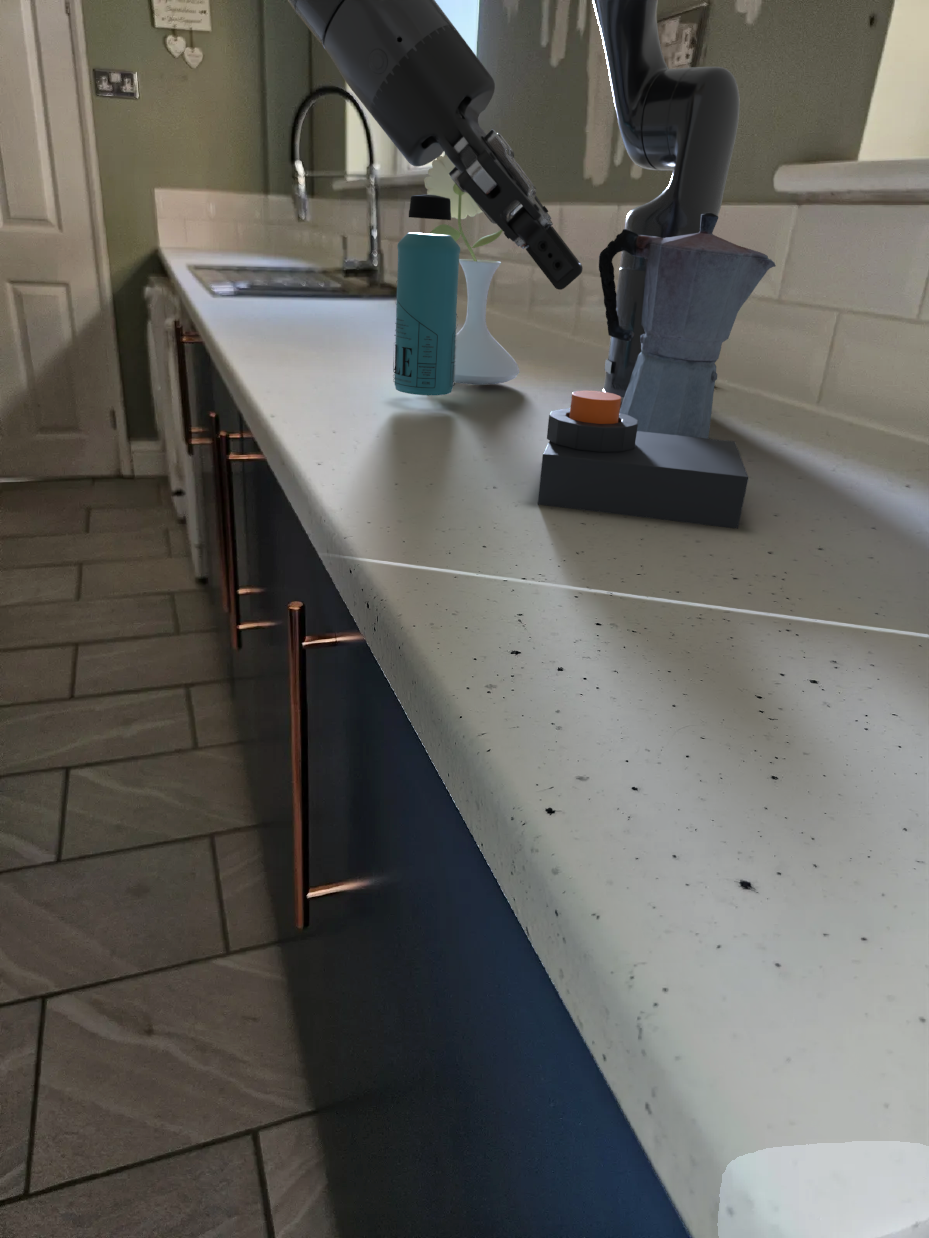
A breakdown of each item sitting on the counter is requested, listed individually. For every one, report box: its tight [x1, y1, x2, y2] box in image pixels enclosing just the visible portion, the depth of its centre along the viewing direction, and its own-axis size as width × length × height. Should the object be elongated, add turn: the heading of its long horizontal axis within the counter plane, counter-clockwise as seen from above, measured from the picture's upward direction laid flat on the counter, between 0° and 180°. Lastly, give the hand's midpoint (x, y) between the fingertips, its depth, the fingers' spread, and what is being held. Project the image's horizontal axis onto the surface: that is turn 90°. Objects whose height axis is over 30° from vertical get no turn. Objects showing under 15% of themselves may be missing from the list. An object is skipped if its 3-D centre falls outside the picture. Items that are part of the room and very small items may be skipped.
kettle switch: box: [569, 390, 621, 424], centre depth 64 cm, size 4×4×2 cm
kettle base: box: [537, 407, 749, 529], centre depth 65 cm, size 14×11×6 cm
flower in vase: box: [423, 154, 520, 386], centre depth 101 cm, size 13×11×25 cm
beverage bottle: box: [392, 194, 461, 397], centre depth 88 cm, size 6×7×20 cm
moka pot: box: [598, 213, 777, 439], centre depth 80 cm, size 10×15×20 cm, turn 78°
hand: (572, 281), depth 61 cm, fingers closed
